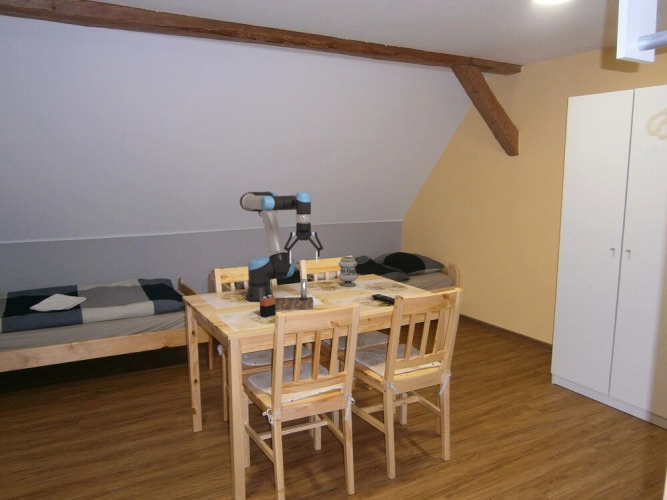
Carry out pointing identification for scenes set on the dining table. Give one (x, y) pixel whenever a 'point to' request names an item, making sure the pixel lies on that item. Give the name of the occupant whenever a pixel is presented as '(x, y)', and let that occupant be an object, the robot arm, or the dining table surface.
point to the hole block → (293, 303)
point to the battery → (267, 306)
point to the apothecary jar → (348, 271)
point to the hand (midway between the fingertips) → (303, 263)
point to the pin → (303, 289)
